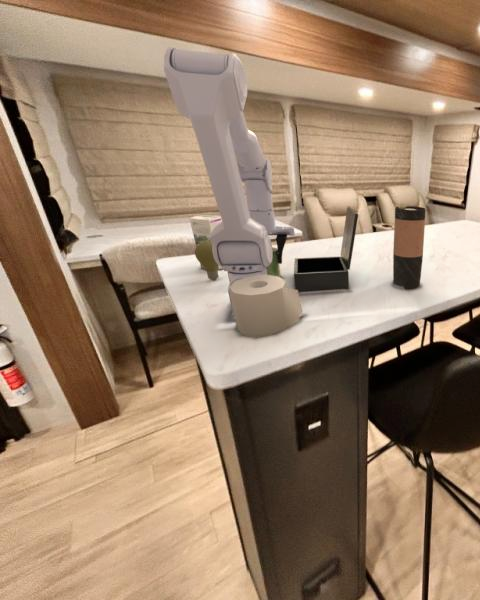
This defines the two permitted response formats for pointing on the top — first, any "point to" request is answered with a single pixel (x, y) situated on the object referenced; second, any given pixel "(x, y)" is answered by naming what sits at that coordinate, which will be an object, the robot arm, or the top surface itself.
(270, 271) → the green pot
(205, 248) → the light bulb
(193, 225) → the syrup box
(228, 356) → the top surface
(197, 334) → the top surface
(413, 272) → the travel mug
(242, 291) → the toilet tissue
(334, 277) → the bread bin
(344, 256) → the bin lid
